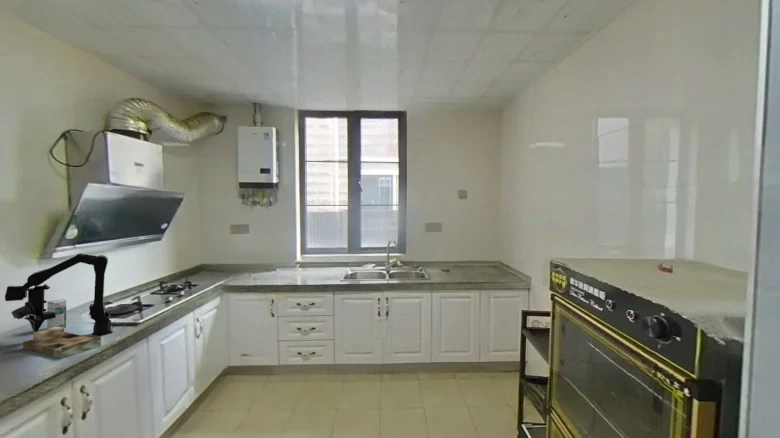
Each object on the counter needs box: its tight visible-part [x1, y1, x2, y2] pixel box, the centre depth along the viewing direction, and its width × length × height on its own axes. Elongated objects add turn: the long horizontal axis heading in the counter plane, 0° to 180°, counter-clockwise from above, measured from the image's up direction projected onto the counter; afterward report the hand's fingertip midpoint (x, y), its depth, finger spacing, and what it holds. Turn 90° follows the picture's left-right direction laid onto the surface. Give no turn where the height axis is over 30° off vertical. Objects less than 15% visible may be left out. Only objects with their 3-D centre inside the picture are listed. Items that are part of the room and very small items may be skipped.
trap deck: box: [22, 331, 102, 359], centre depth 177 cm, size 16×26×4 cm, turn 72°
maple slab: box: [32, 327, 65, 342], centre depth 180 cm, size 10×5×4 cm, turn 162°
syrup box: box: [46, 298, 67, 329], centre depth 202 cm, size 6×6×14 cm
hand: (35, 331), depth 183 cm, fingers closed
